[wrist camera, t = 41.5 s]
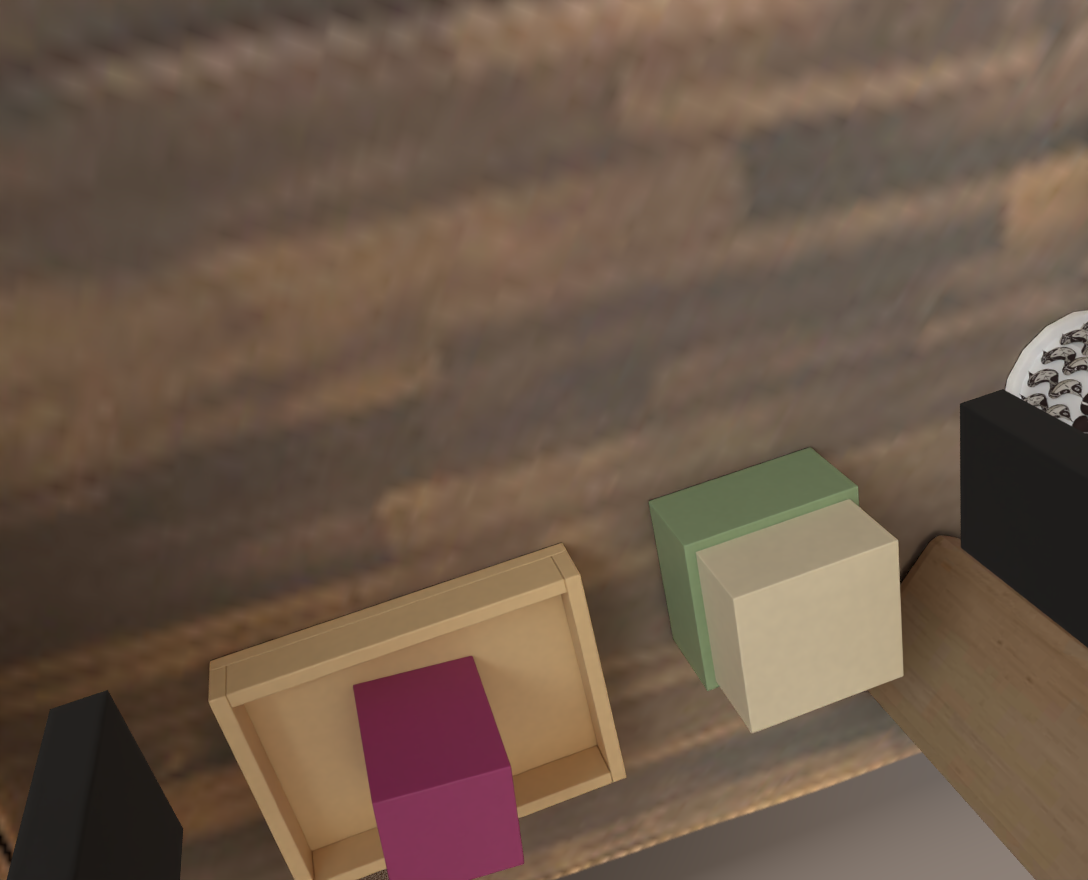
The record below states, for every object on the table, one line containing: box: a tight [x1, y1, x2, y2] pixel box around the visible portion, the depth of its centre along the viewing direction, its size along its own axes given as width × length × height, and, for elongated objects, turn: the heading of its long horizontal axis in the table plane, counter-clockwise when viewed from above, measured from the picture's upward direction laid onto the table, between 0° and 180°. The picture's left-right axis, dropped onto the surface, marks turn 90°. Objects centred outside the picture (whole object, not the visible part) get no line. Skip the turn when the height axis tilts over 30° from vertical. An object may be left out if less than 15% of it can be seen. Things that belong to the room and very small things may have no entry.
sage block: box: [649, 447, 859, 691], centre depth 50 cm, size 9×9×4 cm
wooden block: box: [868, 536, 1088, 880], centre depth 50 cm, size 10×10×20 cm
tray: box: [208, 543, 626, 880], centre depth 49 cm, size 18×14×3 cm
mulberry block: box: [353, 656, 524, 880], centre depth 47 cm, size 6×6×8 cm
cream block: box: [696, 499, 903, 733], centre depth 46 cm, size 8×8×4 cm
